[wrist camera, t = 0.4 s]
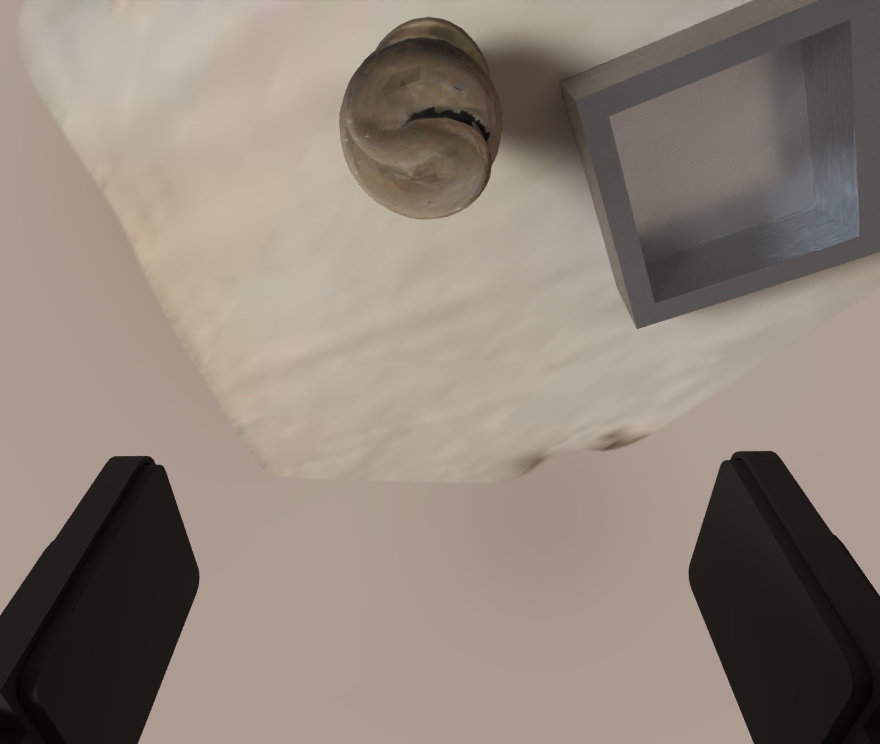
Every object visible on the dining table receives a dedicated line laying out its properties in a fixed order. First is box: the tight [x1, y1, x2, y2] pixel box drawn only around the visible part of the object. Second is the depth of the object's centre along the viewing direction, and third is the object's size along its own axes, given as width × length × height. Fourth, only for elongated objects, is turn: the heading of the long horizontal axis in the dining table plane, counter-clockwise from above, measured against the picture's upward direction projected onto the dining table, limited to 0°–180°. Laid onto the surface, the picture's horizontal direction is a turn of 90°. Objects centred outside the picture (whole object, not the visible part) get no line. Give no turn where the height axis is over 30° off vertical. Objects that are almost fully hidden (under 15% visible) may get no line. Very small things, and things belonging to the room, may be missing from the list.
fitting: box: [560, 0, 880, 329], centre depth 31 cm, size 12×12×5 cm
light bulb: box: [339, 17, 502, 219], centre depth 25 cm, size 6×6×15 cm
